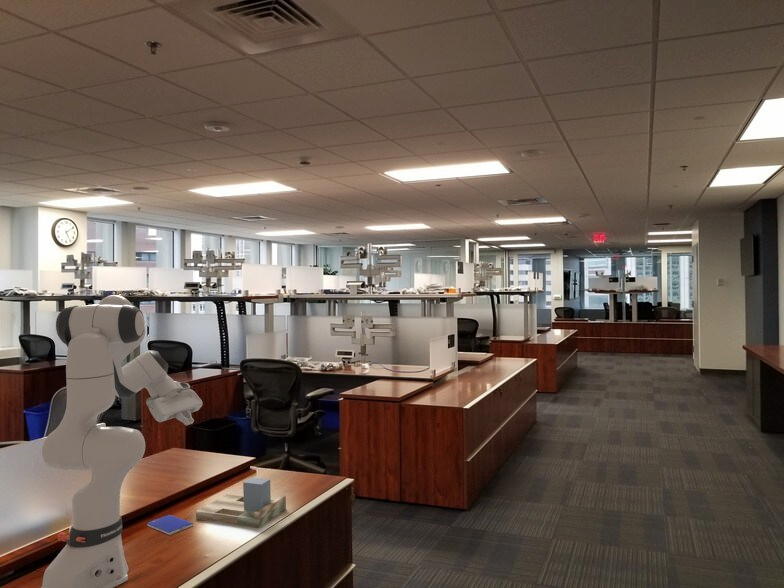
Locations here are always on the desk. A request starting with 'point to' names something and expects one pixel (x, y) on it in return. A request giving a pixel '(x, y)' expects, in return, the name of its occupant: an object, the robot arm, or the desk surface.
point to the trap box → (240, 511)
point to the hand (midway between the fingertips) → (190, 423)
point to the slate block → (256, 493)
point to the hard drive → (169, 524)
